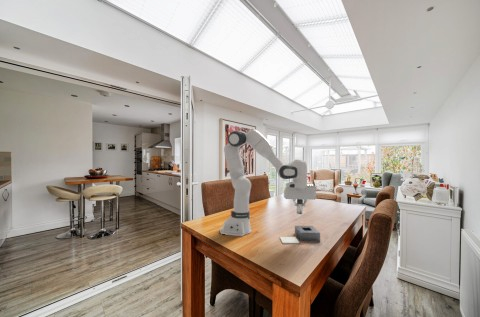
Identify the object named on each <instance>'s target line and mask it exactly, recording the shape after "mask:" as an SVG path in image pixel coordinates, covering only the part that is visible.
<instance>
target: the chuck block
mask: <svg viewBox="0 0 480 317" xmlns="http://www.w3.org/2000/svg"><path fill="white" fill-rule="evenodd" d="M294 234H295V235H296V236H297V238H298V239H299V242H320V241H321V232H320V231H319V230H318V229H316V227H314V225H294Z"/></svg>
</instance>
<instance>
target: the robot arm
mask: <svg viewBox="0 0 480 317" xmlns="http://www.w3.org/2000/svg"><path fill="white" fill-rule="evenodd" d="M227 141H228V143H227V144H226V145H225V146H224V148H223V152H224V158H225V162H226V165H227V168H228V172H229V176H230V181H231V185H232V187H233V189H234V195H233V197H234V198H233V209H231V210H230V216H229V217H228V218H226V219H225V220H224V222H223V225H222V227H220V229H219V234H220V233H221V234H220V235H222V234H225V236H235V237H243V236H245V235H248V234H250V233H251V232H252V226H251V222H250V218H251V217H250V216H251V212H250V195H251V189H252V182H251V180H250V179H249V178H247V177H246V174H245V167H244V162H243V159H242V156H241V152H240V149H241V148H243V147H244V146H245V145H247V144H248V145H249V146H250V147H251V148H252V149H253V150H254V152H256V153H257V154H258V155H260V156H261V157H263V158H265V159H266V160H267V161H268V162H269V163H270V164H271V165H272V166H273V167H274V168H275V169H276V173H277V175H278V176H279V178H281V179H284V180H290V179H292V181H291V182H290V181H289V182H287V183H285V187H284V192H283V198H284V199H286V200H292V202H293V203H294V204H293V205H294V207H297V199H303V207H306V204H307V202H308V200H311V201H312V200H314V201H315V200H317V192H316V191H317V187H316V185H314V184H308V179H307V175H308V165H307V162H306V161H305V160H301V159H294V160H293V161H290V162H289V163H283V161H281V159H280V158H279V157H277V155H276V154H275V153H274V150H273V146H272V145H271V143H270V142H269V140H268V139H267V138H266V137H265V136H264V135H263V134H262V133H261V132H260V131H258V130H257V129H254V128H252V129H249V130H248V131H247V132H246V131H243V130H234V131H232V132H229V134H228V137H227Z"/></svg>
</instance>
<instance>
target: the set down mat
mask: <svg viewBox="0 0 480 317" xmlns="http://www.w3.org/2000/svg"><path fill="white" fill-rule="evenodd" d="M279 239H280V241H281V243H282V244H284V245H287V244H291V245H295V244H296V245H297V244H298V245H300V240H298V239H297V237H296V236H280V237H279Z"/></svg>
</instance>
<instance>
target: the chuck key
mask: <svg viewBox="0 0 480 317" xmlns="http://www.w3.org/2000/svg"><path fill="white" fill-rule="evenodd" d="M296 203H297V206H296V214H297V215H303V211H304V210H303V208H304V206H303V203H304V199H296Z"/></svg>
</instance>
